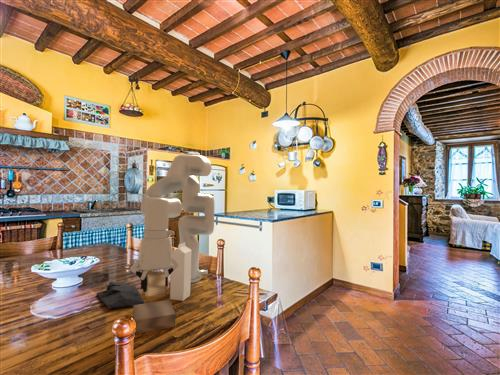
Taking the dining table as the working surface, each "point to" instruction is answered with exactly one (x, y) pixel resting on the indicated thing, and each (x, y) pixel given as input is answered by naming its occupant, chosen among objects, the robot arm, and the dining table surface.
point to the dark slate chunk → (120, 295)
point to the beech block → (155, 283)
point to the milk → (181, 273)
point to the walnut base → (154, 316)
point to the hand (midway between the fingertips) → (154, 289)
